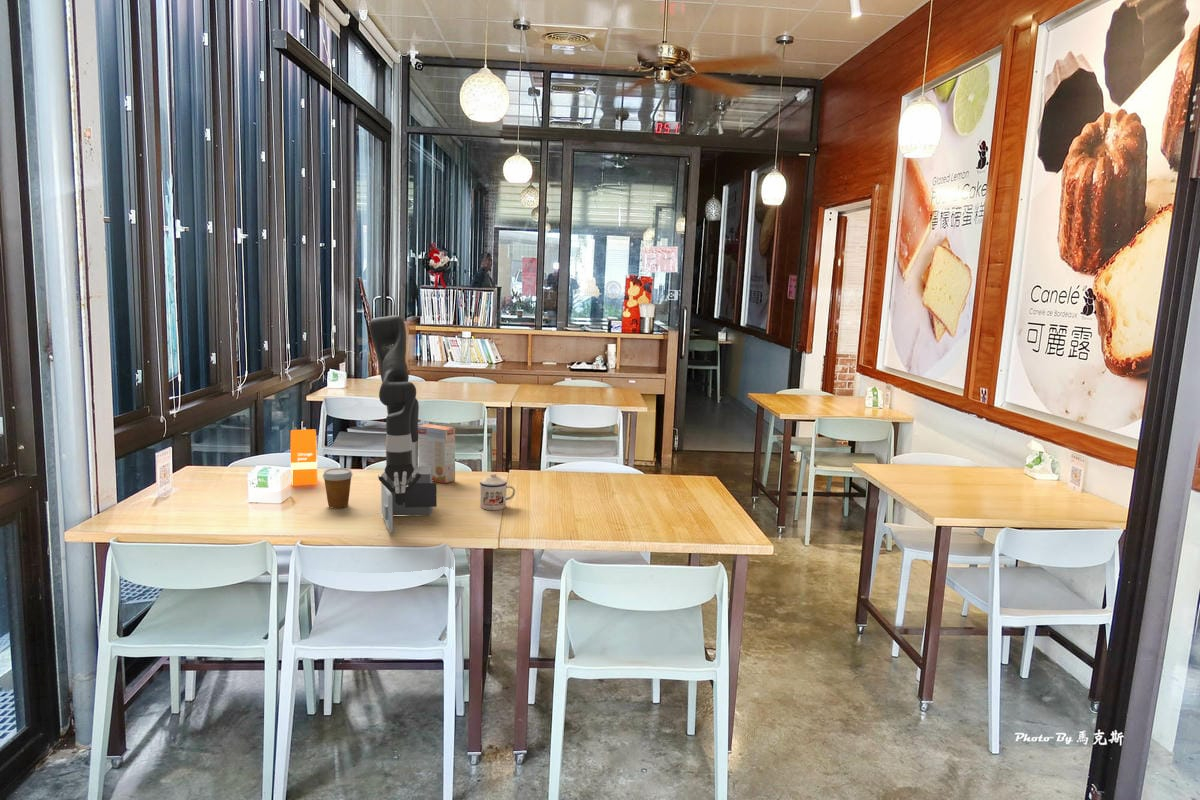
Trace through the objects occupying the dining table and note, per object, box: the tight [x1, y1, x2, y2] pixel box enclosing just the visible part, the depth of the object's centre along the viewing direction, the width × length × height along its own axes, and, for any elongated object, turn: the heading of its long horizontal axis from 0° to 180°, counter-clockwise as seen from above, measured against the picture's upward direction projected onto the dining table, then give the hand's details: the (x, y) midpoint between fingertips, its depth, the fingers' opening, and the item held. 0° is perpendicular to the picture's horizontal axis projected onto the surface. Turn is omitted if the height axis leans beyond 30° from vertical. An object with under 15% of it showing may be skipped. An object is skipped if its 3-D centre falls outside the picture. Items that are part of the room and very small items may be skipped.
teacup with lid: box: [479, 472, 516, 511], centre depth 268 cm, size 12×9×12 cm
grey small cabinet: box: [386, 466, 438, 517], centre depth 259 cm, size 10×17×15 cm, turn 99°
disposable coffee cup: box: [322, 467, 353, 509], centre depth 263 cm, size 10×10×12 cm
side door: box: [380, 481, 394, 533], centre depth 243 cm, size 2×20×11 cm, turn 21°
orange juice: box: [290, 428, 319, 487], centre depth 290 cm, size 8×9×20 cm
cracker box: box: [418, 423, 456, 484], centre depth 299 cm, size 14×6×21 cm, turn 58°
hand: (400, 504), depth 236 cm, fingers closed
